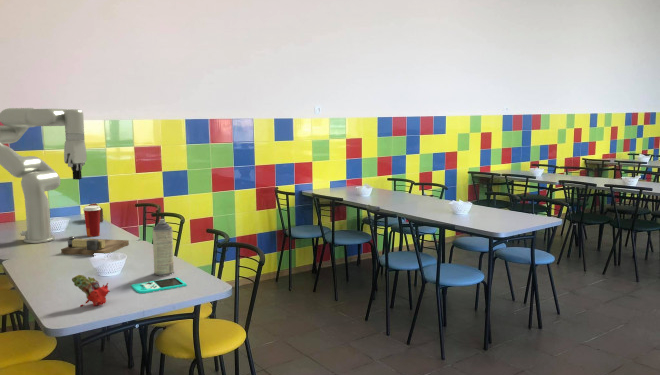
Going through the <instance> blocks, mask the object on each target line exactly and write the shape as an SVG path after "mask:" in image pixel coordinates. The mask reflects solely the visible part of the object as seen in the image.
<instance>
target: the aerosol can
mask: <svg viewBox="0 0 660 375" xmlns="http://www.w3.org/2000/svg"><path fill="white" fill-rule="evenodd" d="M173 235H174V234H173V227H172V226H170V224H168V223H167V222H166V220H165V219H164V218H160V219H159V222H157V224H156V225H155V227H153V228H152V244H153V245H152V249H153V269H154V270H153V272H154V275H155V276H157V275H159V277H164V276H163V275H166V276H170V274H171V275H173V274H174V273H175V271H174V270H175V269H174V239H173V238H174V236H173ZM172 273H173V274H172Z"/></svg>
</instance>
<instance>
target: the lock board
mask: <svg viewBox="0 0 660 375" xmlns="http://www.w3.org/2000/svg"><path fill="white" fill-rule="evenodd" d="M93 239H94V240H87V248H84V247H68V246H66V247H64V248H61V249H60V250H61V251H60V252H61V255H74V256H75V255H77V256H78V255H79V256H94V255H93V254H94V253H109V254H111V253H114V252H116V251H117V250H120V249H123V248H124V247H127V246H129V245H130V242H129V241H130V240H129V239H128V240H127V239H105V238H104V239H103V238H93ZM98 240H105V247H104V248H99V245H98ZM115 250H116V251H115ZM113 251H114V252H113ZM110 252H111V253H110Z"/></svg>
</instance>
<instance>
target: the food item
mask: <svg viewBox="0 0 660 375" xmlns="http://www.w3.org/2000/svg"><path fill="white" fill-rule="evenodd" d="M99 204H100V203H99V202H98V203H89V204H88V205H85V206H84V207H86V206H99ZM100 222H101V223H103V222H104V210H103V208H102V207H101V206H100Z"/></svg>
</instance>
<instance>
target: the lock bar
mask: <svg viewBox="0 0 660 375" xmlns="http://www.w3.org/2000/svg"><path fill="white" fill-rule="evenodd" d="M94 239H95V238H75V236H73V235H71V236H69V237H68V238H67V247H84V248H87V240H94ZM98 245H99V248H104V247H105V240H98Z"/></svg>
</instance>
